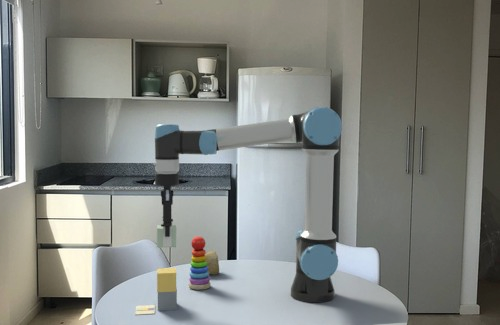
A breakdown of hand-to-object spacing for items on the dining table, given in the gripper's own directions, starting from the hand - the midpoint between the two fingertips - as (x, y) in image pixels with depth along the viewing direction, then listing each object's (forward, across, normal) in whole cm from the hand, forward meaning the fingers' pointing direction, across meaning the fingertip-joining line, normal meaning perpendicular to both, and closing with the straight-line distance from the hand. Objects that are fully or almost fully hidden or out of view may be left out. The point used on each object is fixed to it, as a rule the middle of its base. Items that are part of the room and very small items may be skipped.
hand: (167, 244), depth 170 cm
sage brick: (0, 0, 0) cm, 0 cm away
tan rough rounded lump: (+21, -37, +17) cm, 46 cm away
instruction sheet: (+21, +2, -7) cm, 22 cm away
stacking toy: (+21, -20, +12) cm, 31 cm away
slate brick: (+21, 0, 0) cm, 21 cm away
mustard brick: (+15, 0, 0) cm, 15 cm away
